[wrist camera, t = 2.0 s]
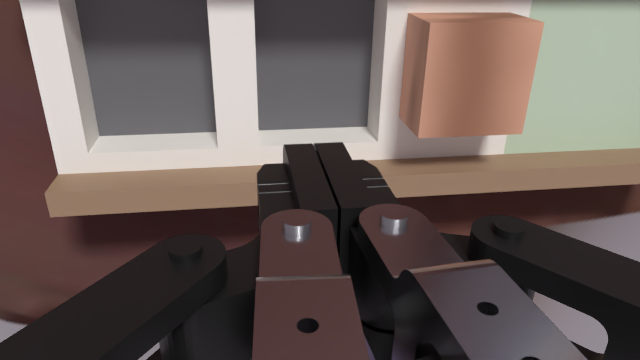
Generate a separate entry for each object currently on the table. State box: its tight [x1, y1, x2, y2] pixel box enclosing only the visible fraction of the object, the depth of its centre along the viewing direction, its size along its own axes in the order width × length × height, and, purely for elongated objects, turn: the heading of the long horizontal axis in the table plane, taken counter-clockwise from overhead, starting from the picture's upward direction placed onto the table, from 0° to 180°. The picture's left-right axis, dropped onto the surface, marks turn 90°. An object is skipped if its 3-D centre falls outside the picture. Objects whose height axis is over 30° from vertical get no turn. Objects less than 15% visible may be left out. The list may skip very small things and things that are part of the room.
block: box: [399, 12, 544, 138], centre depth 24 cm, size 5×5×3 cm
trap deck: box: [19, 0, 640, 217], centre depth 25 cm, size 34×12×5 cm, turn 89°
